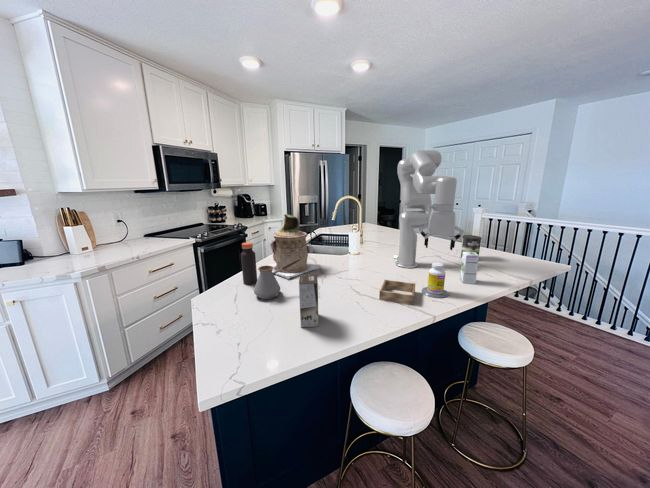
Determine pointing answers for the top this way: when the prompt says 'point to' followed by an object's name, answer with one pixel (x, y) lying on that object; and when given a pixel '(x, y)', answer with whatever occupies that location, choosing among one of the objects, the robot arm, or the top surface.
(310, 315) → the coffee box
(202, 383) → the top surface
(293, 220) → the cookie jar
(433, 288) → the supplement bottle
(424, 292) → the trivet
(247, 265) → the vinegar
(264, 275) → the coffee pot
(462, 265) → the syrup box
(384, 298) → the wooden box
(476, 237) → the coffee can
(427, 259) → the top surface
